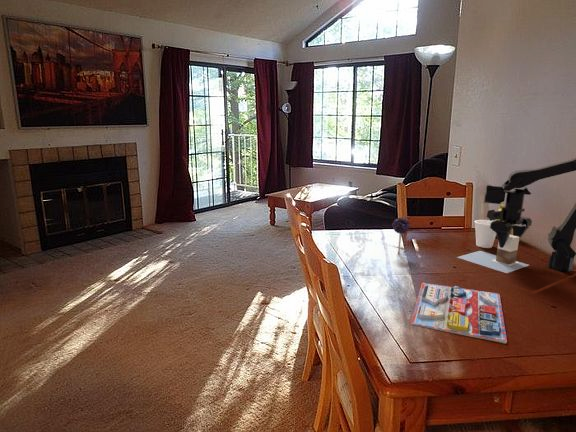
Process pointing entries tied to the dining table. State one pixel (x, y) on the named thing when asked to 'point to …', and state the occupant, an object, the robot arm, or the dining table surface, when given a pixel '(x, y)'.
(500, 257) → the walnut block
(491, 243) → the cup
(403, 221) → the lollipop
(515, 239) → the cream block
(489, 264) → the mat
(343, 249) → the dining table surface
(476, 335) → the puzzle board
